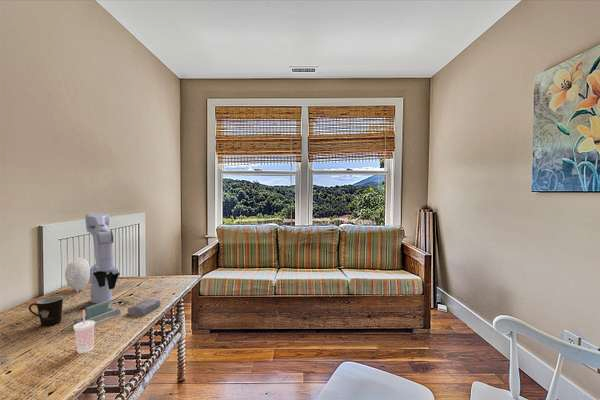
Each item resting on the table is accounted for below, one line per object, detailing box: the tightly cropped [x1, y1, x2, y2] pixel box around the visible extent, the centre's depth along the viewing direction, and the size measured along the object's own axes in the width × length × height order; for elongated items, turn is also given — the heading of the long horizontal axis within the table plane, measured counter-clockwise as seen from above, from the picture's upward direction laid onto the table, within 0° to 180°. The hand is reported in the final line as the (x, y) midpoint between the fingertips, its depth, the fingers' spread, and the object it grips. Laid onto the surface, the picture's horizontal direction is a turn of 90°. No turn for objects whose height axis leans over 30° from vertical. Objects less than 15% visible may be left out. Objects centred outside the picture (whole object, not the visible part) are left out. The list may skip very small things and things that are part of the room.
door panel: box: [85, 301, 110, 320], centre depth 130 cm, size 2×8×6 cm, turn 152°
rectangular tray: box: [73, 305, 122, 326], centre depth 131 cm, size 7×15×3 cm, turn 152°
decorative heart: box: [64, 257, 91, 294], centre depth 169 cm, size 18×11×17 cm, turn 25°
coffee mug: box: [28, 295, 64, 328], centre depth 129 cm, size 12×9×10 cm
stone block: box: [127, 298, 161, 317], centre depth 141 cm, size 12×5×10 cm
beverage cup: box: [73, 309, 96, 354], centre depth 107 cm, size 6×6×14 cm
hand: (106, 287), depth 141 cm, fingers open, 7 cm apart
